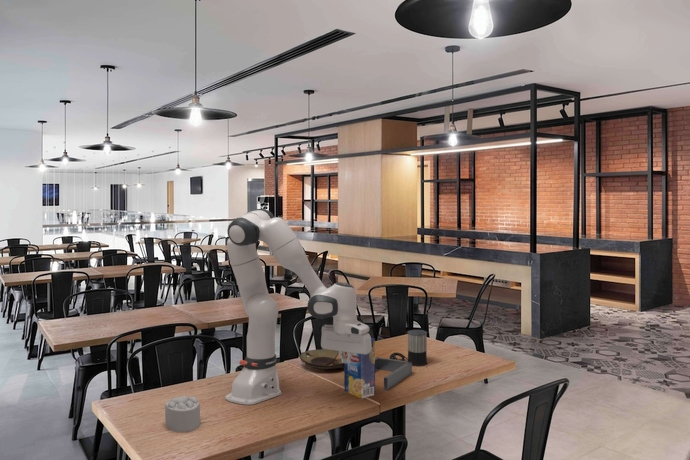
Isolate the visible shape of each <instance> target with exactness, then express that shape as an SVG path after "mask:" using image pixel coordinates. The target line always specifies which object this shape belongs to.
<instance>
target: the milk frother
mask: <svg viewBox="0 0 690 460" xmlns="http://www.w3.org/2000/svg"><path fill="white" fill-rule="evenodd" d="M406 332H407V357H406V356H405V355H404V354H402V353H400V352H393V353H391V354H390V356H389V359H394V360H398V357H401V361H407V362H412V367H413V366H415V367H422V366H426V365H427V364H428V359H427V355H428V353H427V352H428V351H427V346H428V344H427V334H428V332H427V331H426V330H423V329H412V330H411V329H410V330H408V331H406ZM397 356H398V357H397Z"/></svg>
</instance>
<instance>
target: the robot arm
mask: <svg viewBox="0 0 690 460" xmlns="http://www.w3.org/2000/svg"><path fill="white" fill-rule="evenodd" d="M226 231H227V236H228V239H227V241H226V248H227V254H228V259H229V262H230V266H231V268H232V271H233V274H234V278H235V280H236V283H237V286H238V292H239V296H240V299H241V302H242V305H243V306H242V307H243V310H244V312H245V313H246V315H248V327H247V334H246V355H245V359H244V360H243V359H240V360H239V365H240V366H243V368H242V369H241V371H240V372H239V373H238V375H237V376H236V377H235V379H233V381H232V383H231V385H232V386H231V392H229V393H228V394H226V395H225V400H226V401H228V402H231V403H234V404H240V405H249V406H250V405H252V406H253V405H256V404H258V403H261V402H264V401H267V400H270V399H272V398H275V397H278V396H282V390H281V389H280V382H279V373H278V371H277V368H276V366H277V355H276V330H277V323H278V317H279V307H278V303H277V301H276V300H275V299H274V298H272V297H271V295H270V293H269V290H268V287H267V283H266V275H265V271H264V268H263V266H262V262H261V259H260V256H259V253H258V251H257V243H259V242H263V243H265V245H266V246H267V247H268V248H269V252H270V253H271V255H272V256H273V257H274V259H275V261H277V263H278V264H279V265H280V266H281V267H282V268H284V269H286V270H289V271H291V272H292V273H295V275H296V276H298V278H299V279H300V281H301V282H302V283H303V285H304V286H305V289H307V290H308V292H309V295H310V296H309V297H310V298H309V300H308V301H307V304H306V305H307V306H306V307H307V311H308V313H309V315H310V316H311V317H312V318H315V319H317V320H319V319H320V320H322V319H327V318H332V319H333V320H332V324H328V323H327V324H324V325H322V326H321V339H320V346H321V349H328V350H336V351H339V354H338V356H339V358H340V359H341V360H342V363H346V364H349V363H350V362H351V357H352V355H353V353H358V354H365V355H366V354H368V353H370V352H371V350H372V344H371V338H372V336H371V335H370V333H369V332H370V326H369V325H368V324H365V323H364V322H361V321H359V320H358V317H357V306H358V305H357V304H358V302H357V293H356V289H355V287H354V286H353V285H352V284H350V283H347V282H339V281H338V282H335V283H334V284H332V285H331V286H330V287H328V286H327V285H325V284H324V282H323V281H322V280H321V279H320V277H319V276H318V274H317V272H316V271H315V269H314V268H313V267H312V265H311V263H310V260H309V259H308V256H307V254H306V252H305V249H304V248H303V245H302V244H301V242H300V239H299V238H298V237H297V235H296V233H295V232H294V230H293V229H292V228H291V227H290V226H289V224H288V223H287V222H286V221H285V220H284V218H281V217H279V216H278V217H277V216H276V217H275V216H274V214H273V213H272V212H271V211H270V210H268V209H266V208H257V209H255V210H251V211H249V212H246V213H244V214H243V215H241V216H239V217H236V218H235V219H233V220H232V221H231V222H230V223H229V225H228V227H227V230H226ZM344 352H347V355H348V357H347V358H346V357H345V355H344Z"/></svg>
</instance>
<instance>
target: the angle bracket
mask: <svg viewBox="0 0 690 460" xmlns="http://www.w3.org/2000/svg"><path fill="white" fill-rule="evenodd" d="M401 360H402V359H401ZM401 360H400V359H397V360H394V359H390V358H387V357H386V358H385V357H378V356H375V372H377V371H378V370H381V371H387V372H391V373H388V374H387V375H385V376H384V377H383V390H384V391H389V390H390V389H392V388H393V387H395V386H396V385H398V384H399V383H400V382H401V381H403V380H405V379H406V378H407V377H409V376H410V375H412V374H413V365H412V362H407V361H408V360H404V361H401Z"/></svg>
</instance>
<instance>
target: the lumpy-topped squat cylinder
mask: <svg viewBox="0 0 690 460" xmlns="http://www.w3.org/2000/svg"><path fill="white" fill-rule="evenodd" d="M199 401H200V400H198V398H197V396H189V395H182V396H177V397H176V396H175V397H172V398H171V399H169V400H167V401H166V402H165V403H164V406H165V407H164V408H165V409H164V414H165V420H164V421H165V427H166V428H167V429H168V430H170V431H172V432H176V433H188V432H193V431H195V430H197V429H198V428H199V427H200V426H201V407H200V406H201V403H200V402H199Z"/></svg>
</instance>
